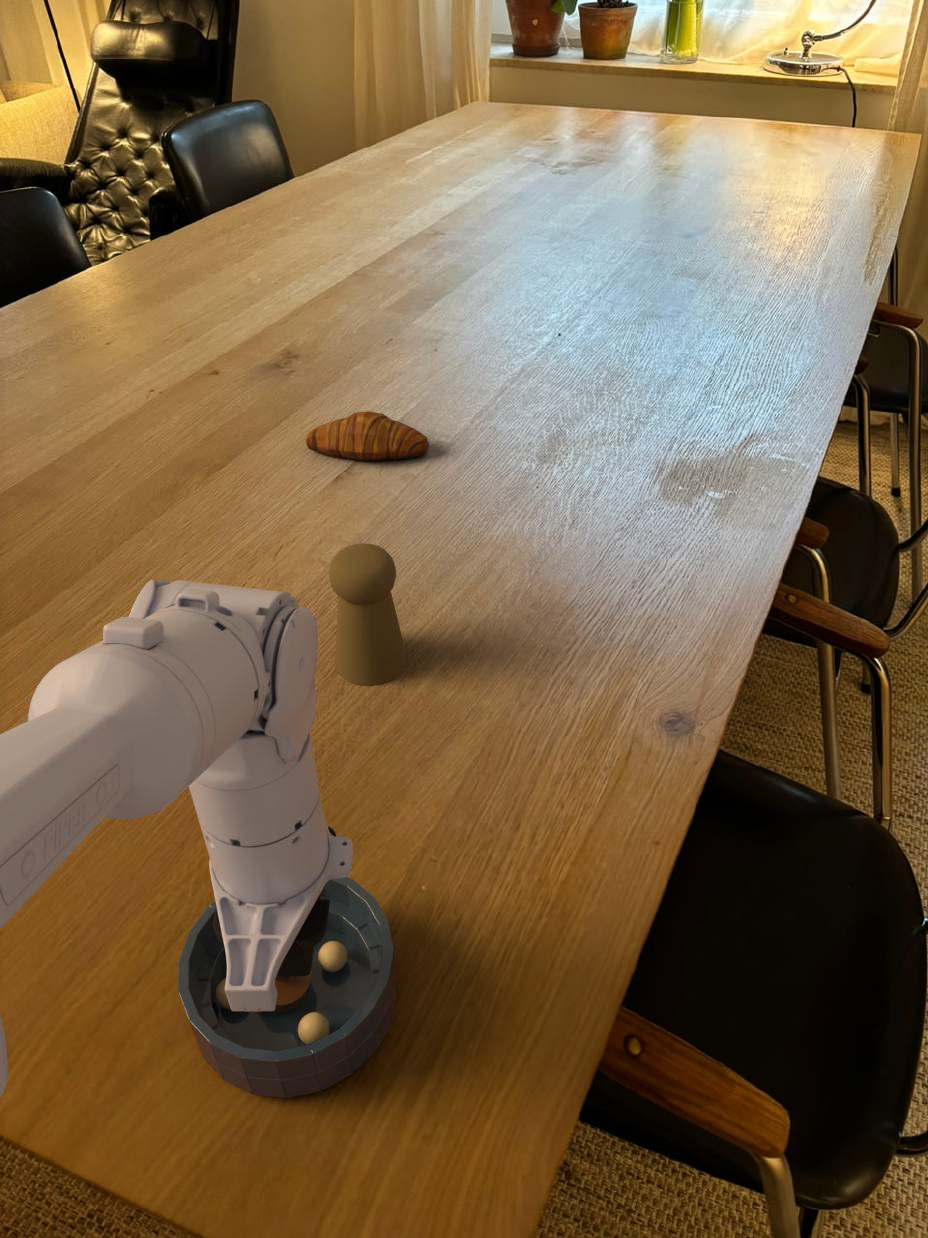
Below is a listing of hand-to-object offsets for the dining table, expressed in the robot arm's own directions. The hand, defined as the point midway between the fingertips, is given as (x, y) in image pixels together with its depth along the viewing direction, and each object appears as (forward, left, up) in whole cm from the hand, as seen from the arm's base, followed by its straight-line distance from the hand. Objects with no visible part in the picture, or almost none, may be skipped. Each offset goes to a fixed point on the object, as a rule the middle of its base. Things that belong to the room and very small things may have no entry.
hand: (294, 952), depth 55 cm
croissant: (+31, +56, -7) cm, 64 cm away
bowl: (0, +1, -7) cm, 7 cm away
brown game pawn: (+17, +26, -7) cm, 32 cm away
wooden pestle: (-1, +2, -6) cm, 6 cm away
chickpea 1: (-4, +3, -5) cm, 7 cm away
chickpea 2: (0, -2, -5) cm, 5 cm away
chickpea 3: (+3, +2, -5) cm, 6 cm away
